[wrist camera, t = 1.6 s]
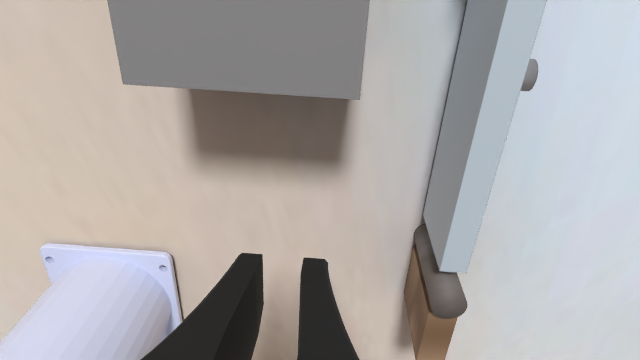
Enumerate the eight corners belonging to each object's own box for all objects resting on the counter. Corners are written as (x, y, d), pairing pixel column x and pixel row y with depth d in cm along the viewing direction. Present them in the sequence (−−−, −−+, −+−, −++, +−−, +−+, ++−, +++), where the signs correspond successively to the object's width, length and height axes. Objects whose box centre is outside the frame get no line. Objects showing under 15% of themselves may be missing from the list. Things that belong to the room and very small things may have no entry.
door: (463, 217, 22) (488, 274, 18) (423, 215, 22) (439, 271, 18) (529, -30, 16) (587, -24, 12) (474, -33, 16) (514, -28, 13)
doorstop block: (355, 58, 19) (359, 99, 14) (184, 48, 19) (122, 84, 14) (364, -40, 17) (373, -36, 12) (173, -51, 17) (97, -52, 12)
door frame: (431, 294, 25) (450, 371, 21) (399, 291, 26) (411, 368, 21) (602, -393, 12) (765, -614, 7) (533, -396, 12) (653, -616, 7)
